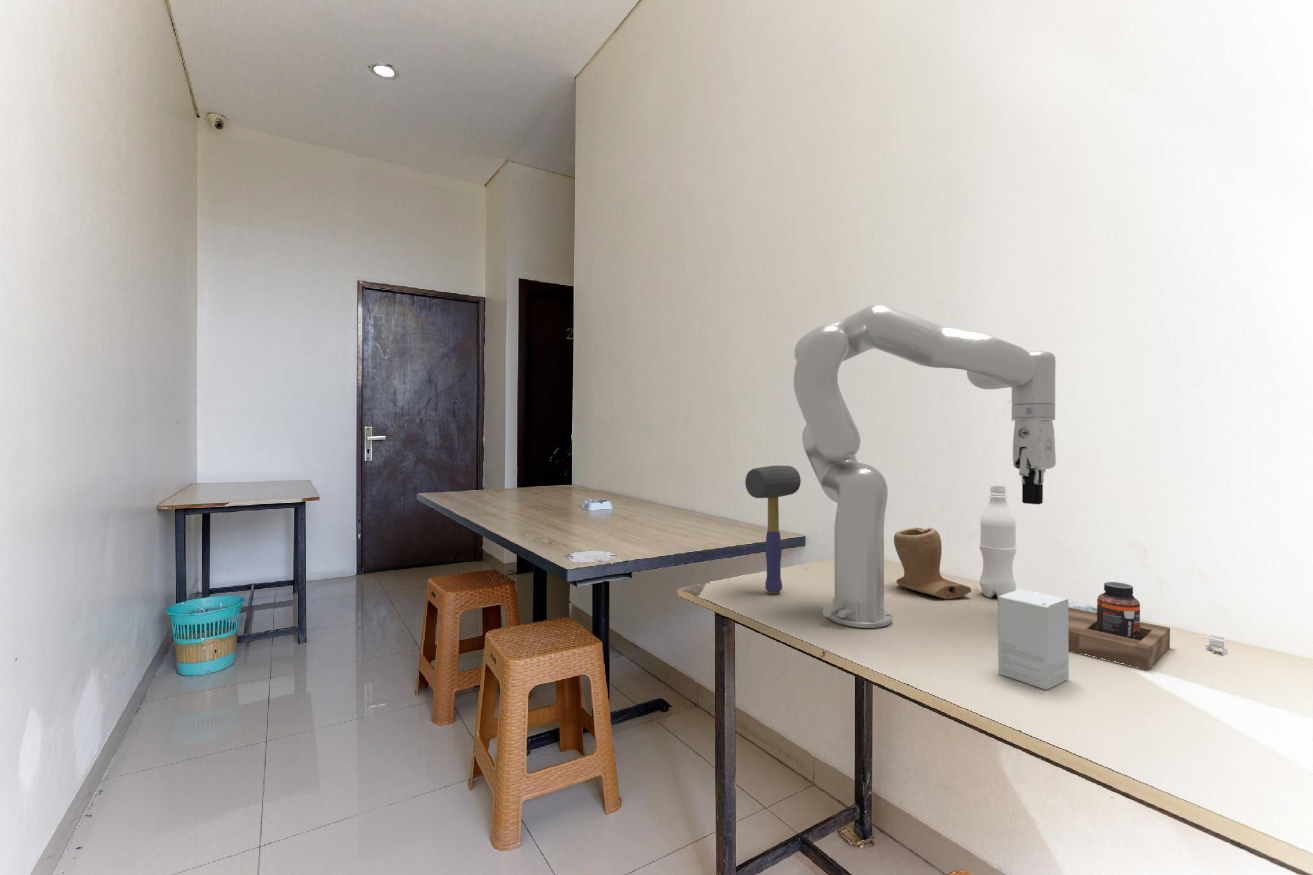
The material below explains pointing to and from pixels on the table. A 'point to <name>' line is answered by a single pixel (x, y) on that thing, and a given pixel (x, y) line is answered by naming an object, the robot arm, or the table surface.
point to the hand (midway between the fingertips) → (1032, 503)
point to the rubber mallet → (773, 512)
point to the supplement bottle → (1118, 611)
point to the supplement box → (1033, 638)
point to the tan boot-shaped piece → (924, 564)
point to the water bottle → (997, 545)
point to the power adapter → (1216, 644)
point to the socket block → (1116, 641)
